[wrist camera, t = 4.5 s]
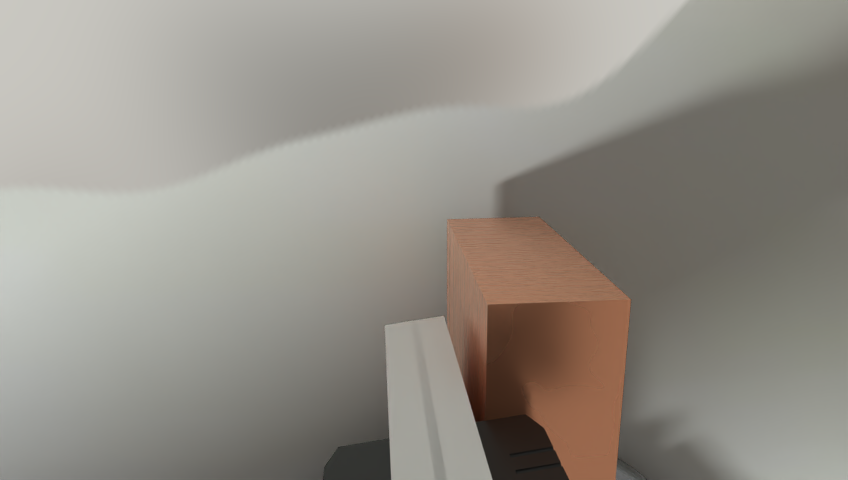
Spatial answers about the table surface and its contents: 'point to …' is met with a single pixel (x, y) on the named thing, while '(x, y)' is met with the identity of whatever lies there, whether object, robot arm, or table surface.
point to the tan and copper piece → (539, 336)
